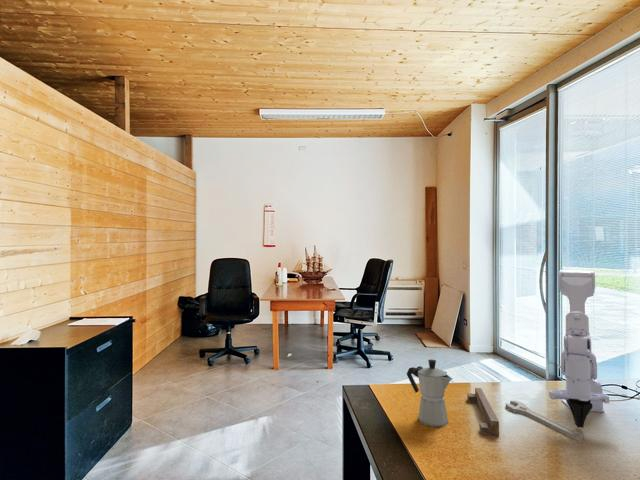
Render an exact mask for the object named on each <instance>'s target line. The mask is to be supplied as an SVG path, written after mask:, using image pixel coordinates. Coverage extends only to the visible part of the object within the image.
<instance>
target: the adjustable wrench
mask: <svg viewBox="0 0 640 480" xmlns="http://www.w3.org/2000/svg"><path fill="white" fill-rule="evenodd" d="M505 409H507V410H508V409H509V410H508V411H510V410H511V411H510V412H512V413H513V412H515V414H520V413H521V414H520V415H524V414H525V415H524V416H527V417H529V418H531V419H532V420H535V421H536V422H539V423H541V424H543V425H545V426H547V427H549V428H551V429H553V430H554V431H557V432H559V433H561V434H563V435H565V436H567V437H569V438H571V439H573V440H576V441H583V440H584V435H583V434H582V433H580V432H578V431H576V430H574V429H572V428H569V427H567V426H565V425H563V424H561V423H559V422H557V421H554V420H553V419H550V418H549V417H546V416H544V415H542V414H540V413H537V412H535V411H534V410H532V409H530V408H529V407H528V406H527V405H526V404H525V403H524V402H522V401H518V400H517V401H516V400H510V401H509V403H507V402H506V403H505Z"/></svg>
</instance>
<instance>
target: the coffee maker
mask: <svg viewBox="0 0 640 480" xmlns="http://www.w3.org/2000/svg"><path fill="white" fill-rule="evenodd" d="M427 362H428V366H429V367H423V366H421V365H419V366H417V367H412V366H411V367H409V368H408V370H407V372H406V376H407V379H408V380H409V382H410V384H411V387H412V388H413V391H414V393H416V394H417V393H418V392H419V391H420V395H422V396H420V403H419V409H418V414H417V415H418V417H417V419H418V420H419V422H420V424H421V425H425V426H428V427H431V428H434V427H435V428H441V427H443V428H444V427H445V426H446V425H447V424H448V423H449V419H448V414H447V408H446V407H447V406H446V401H445V399H444V397H445V393H446V388H447V387H448V385H449V384H450V382H451V381H452V380H453V377H451V376H449V375H448V373H447V371H446V370H443V369H440V368H437V367H436V363H437V360H436V359H428V360H427ZM413 376H415V377H417V378H418V384H419V387H418V385H417V383H416V381H415V378H414V377H413Z"/></svg>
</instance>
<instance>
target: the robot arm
mask: <svg viewBox="0 0 640 480" xmlns="http://www.w3.org/2000/svg"><path fill="white" fill-rule="evenodd" d="M558 287H559V292H560V294H561V295H562V296H565V297H566V298H567V299H568V303H569V312H568V313H567V314H566V315H565V335H564V336H563V350H562V351H561V353H560V373H561V374H562V376H564V378H565V389H558V390H557V389H555V390H553V389H552V390H551V389H549V390H548V397H549V398H550V399H551V400H561V401H562V402H563V403H564V405H566V406H567V407H568V408H569V410H570V411H571V414H572V418H573V420H574V425H575V426H576V427H577V428H581V429H583V428H584V425H585V423H586V419H587V416H588V414H589V413H590V412H597V413H600V412H601V413H602V412H603V413H604V412H605V410H604V403H605V404H610V396H609V395H608V394H606V393H604V392H603V388H602V383H601V382H600V380H598V362H597V356H596V355H595V353H594V352H592V339H591V335H590V325H589V323H590V321H589V317H588V315H587V314H586V301H587V299H588V298H590V297H593V296H594V294H595V290H596V272H595V271H593V270H563V269H560V270H559V271H558Z"/></svg>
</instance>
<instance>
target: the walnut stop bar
mask: <svg viewBox="0 0 640 480" xmlns="http://www.w3.org/2000/svg"><path fill="white" fill-rule="evenodd" d="M466 398H467V399H466V400H467V401H468V404H469V403H471V404H476V405H477V407H478V410H479V411H480V413H481V416H482V418H483V420H484V422H479V431H480V433H481V435H483V436H492V437H493V436H494V437H500V421H499V419H498V417H497V415H496V414H495V411H494V409H493V407H492V406H491V403H490V402H489V400H488V397H487V396H486V394H485V393H484V391H483V388H482V387H474V393H469V392H468V393H467V397H466Z"/></svg>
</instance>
